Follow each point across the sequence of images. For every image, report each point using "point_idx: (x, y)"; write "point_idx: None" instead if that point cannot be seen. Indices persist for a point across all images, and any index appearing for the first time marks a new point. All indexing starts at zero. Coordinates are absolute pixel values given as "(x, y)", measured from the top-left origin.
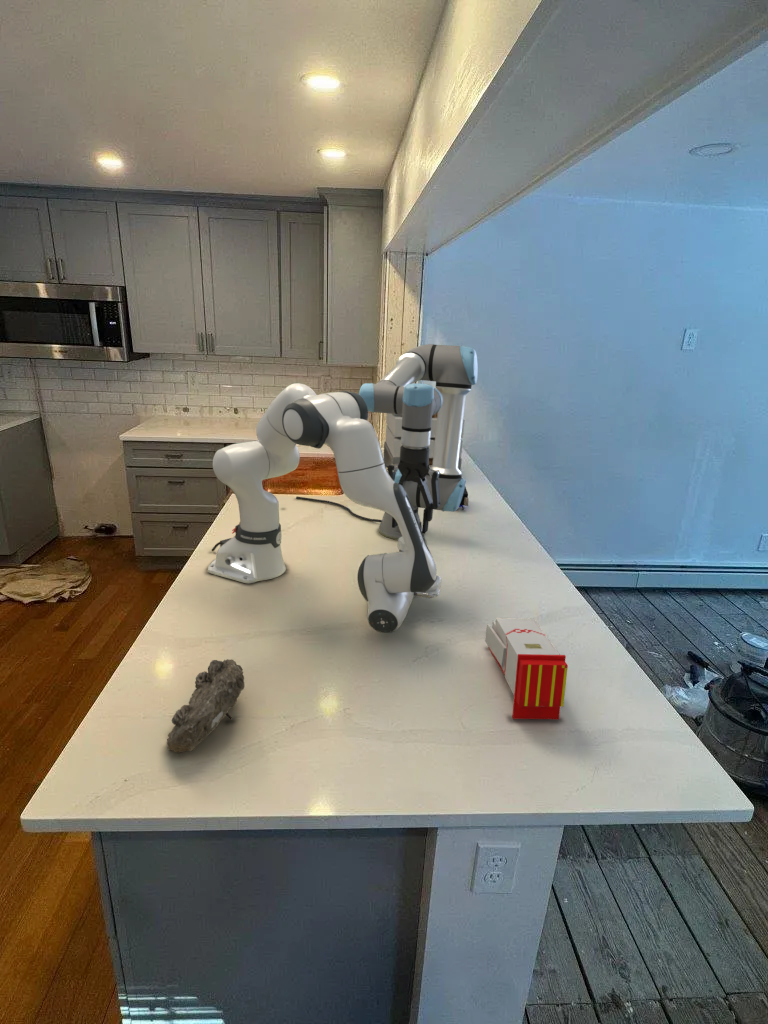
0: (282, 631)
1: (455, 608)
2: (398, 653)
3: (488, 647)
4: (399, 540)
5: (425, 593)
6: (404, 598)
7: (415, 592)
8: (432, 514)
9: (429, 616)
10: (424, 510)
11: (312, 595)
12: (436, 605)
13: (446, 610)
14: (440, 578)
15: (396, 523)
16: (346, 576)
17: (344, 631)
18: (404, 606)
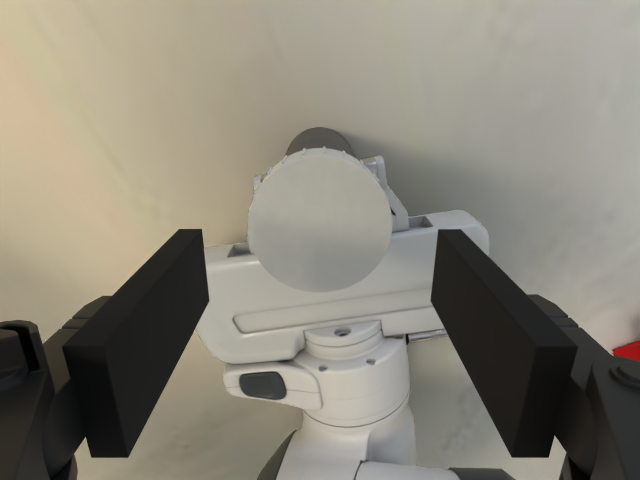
0: (137, 466)
1: (506, 192)
2: None
3: (613, 351)
4: (267, 262)
5: (445, 335)
6: (409, 456)
7: (410, 342)
8: (581, 333)
9: None
10: (521, 453)
11: (75, 312)
12: (442, 202)
13: (479, 218)
14: (488, 244)
15: (199, 275)
16: (73, 148)
17: (258, 418)
18: (415, 465)
